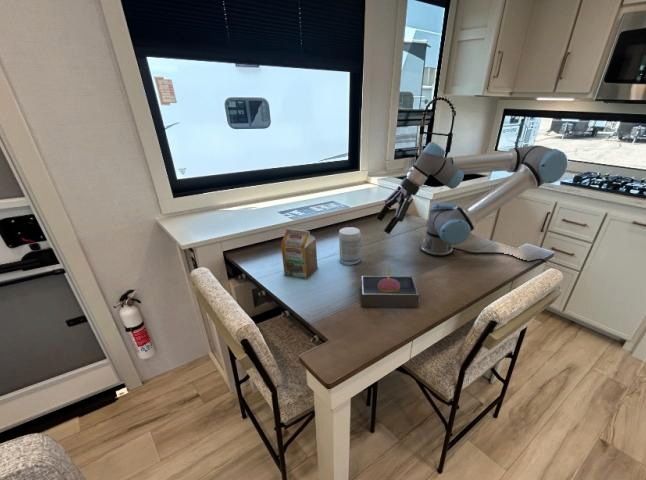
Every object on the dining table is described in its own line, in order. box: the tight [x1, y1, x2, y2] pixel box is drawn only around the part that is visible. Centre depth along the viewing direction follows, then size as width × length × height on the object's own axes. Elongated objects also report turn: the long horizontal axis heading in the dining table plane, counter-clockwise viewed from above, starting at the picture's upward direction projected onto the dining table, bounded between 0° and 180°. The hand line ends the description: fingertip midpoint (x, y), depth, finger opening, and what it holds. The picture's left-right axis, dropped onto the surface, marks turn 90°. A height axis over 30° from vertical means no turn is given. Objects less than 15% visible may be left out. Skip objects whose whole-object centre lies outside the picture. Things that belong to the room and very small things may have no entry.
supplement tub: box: [338, 226, 361, 266], centre depth 145 cm, size 10×10×15 cm
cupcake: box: [377, 265, 400, 294], centre depth 119 cm, size 9×8×12 cm
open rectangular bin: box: [360, 275, 420, 308], centre depth 121 cm, size 20×14×5 cm
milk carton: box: [280, 228, 318, 280], centre depth 134 cm, size 11×11×19 cm
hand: (382, 225), depth 137 cm, fingers open, 13 cm apart
